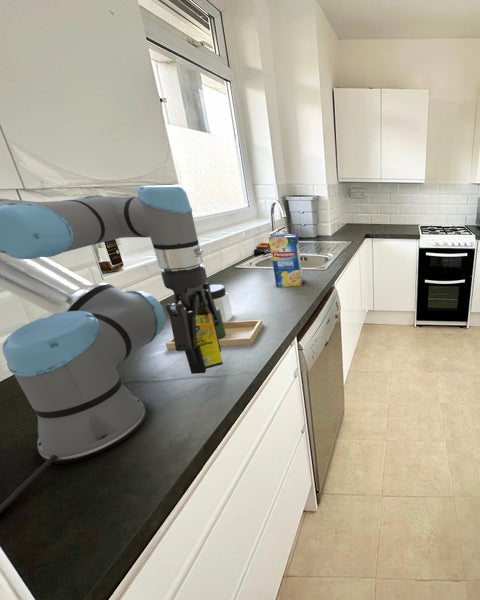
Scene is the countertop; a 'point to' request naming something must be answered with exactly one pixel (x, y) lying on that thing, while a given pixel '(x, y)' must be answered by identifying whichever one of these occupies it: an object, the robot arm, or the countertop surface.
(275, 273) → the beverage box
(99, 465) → the countertop surface
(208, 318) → the supplement box
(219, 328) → the green bottle
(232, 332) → the tray
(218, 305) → the jar
